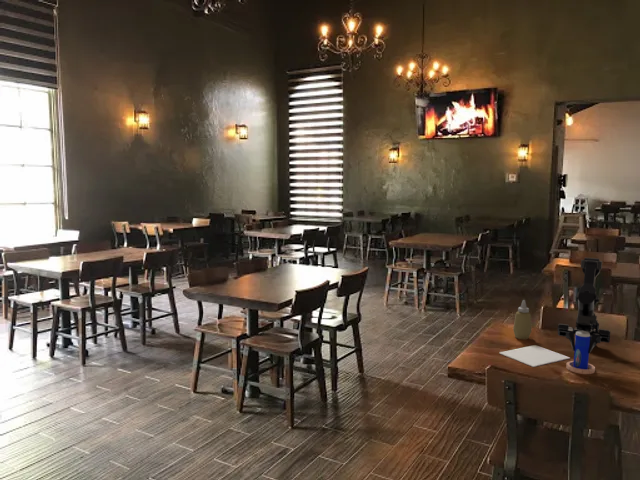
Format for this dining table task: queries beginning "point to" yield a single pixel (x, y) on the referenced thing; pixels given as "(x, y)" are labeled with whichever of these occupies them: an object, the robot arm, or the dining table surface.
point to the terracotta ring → (581, 371)
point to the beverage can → (581, 349)
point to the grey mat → (534, 355)
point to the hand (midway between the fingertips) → (581, 351)
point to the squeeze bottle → (522, 322)
